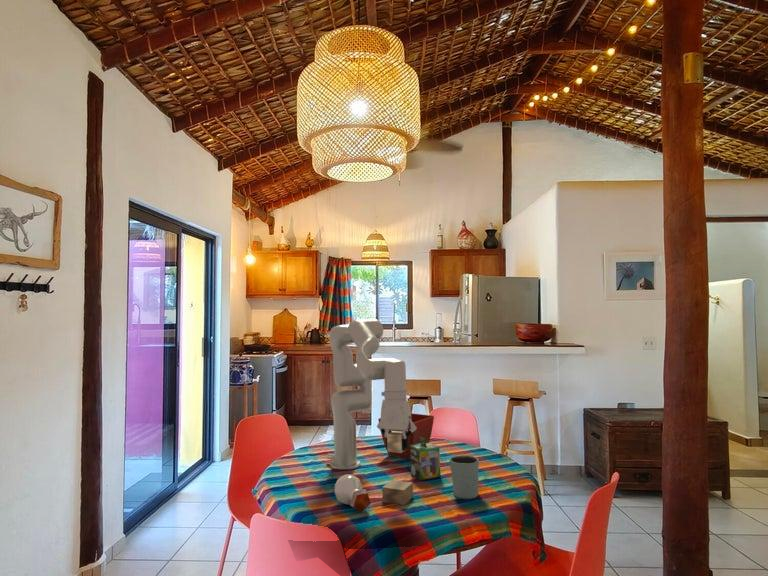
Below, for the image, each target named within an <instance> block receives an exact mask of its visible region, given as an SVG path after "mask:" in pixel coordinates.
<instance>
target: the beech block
mask: <svg viewBox="0 0 768 576" xmlns="http://www.w3.org/2000/svg"><path fill="white" fill-rule="evenodd" d="M402 439H403V435H402V432H401V431H392V432H390V433H388V434H387V450H388V452H396V453H402V452H403V451H402ZM387 450H386V451H387ZM388 452H387V453H388Z"/></svg>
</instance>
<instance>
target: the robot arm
mask: <svg viewBox="0 0 768 576" xmlns="http://www.w3.org/2000/svg"><path fill="white" fill-rule="evenodd" d="M383 335H384V326H383V324H382V322H381V321H380V320H378V319H377V318H376V319H375V318H365V319H364V318H363V319H354V320H352V321H351V322H350V323H349V324H340V325H335V326H333V327H331V330H330V331H329V336H328V337H329V338H328V339H329V345H330V348H331V351H332V357H333V379H334V384H335V386H336V387H339V388H347V387H348V388H349V387H357V388H355V389H343V390H337V391H336V392H334V393H333V394H332V396H331V398H330V403H331V405H330V406H331V409H332V415H333V416H332V417H333V445H334V446H333V451H334V453H327V456H326V459H327V460H331V462H330V467H331V469H334V470H339V471H341V470H342V471H346V470H353V469H357V468H359V467H360V466H361V461H360V460H358V458H357V457H358V455H357V423H356V420H355V418H354V417H353V416H352V415H351V413H357V412H365V411H367V410H369V409H370V408H371V405H372V383H371V382H372V381H380V380H384V390H383V391H382V392H381V393H380V394H381V396H383V397H384V399H382V403H381V408H380V418H381V421H380V422H379V421H378V423H377V425H376V428H378V430H379V431H380V430H381V431H380V433H381V432H382V433H383V434H384V436H385V437H386V446H387V434H388V433H390V432H391V431H392V430H401V432H402V435H403V439H402V451H405V450H406V449H407V448H408V437H409V436H410V435H411V434H412V433H413V432H414V431H415V430H416V429H417V427H416V426H415V425H414V423H413V422H412V421H411V413H412V412H411V407H410V406H411V405H410V402H409V399H407V371H406V369H407V368H406V365H407V364H406V362H405V361H404V360H402V359H397V358H394V357H387V358H386V357H384V358H369V357H371V356H373V355H375V353H377V352H378V350H379V348H380V339H381V338H382V337H383ZM348 345H355V347H356V349H357V350H356V353H355V363H354V353H353V352H352V350H351V348H350V347H349V346H348ZM410 427H411V429H410V430H409V431H408V429H407V428H410Z"/></svg>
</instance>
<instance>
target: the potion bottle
mask: <svg viewBox="0 0 768 576" xmlns="http://www.w3.org/2000/svg"><path fill="white" fill-rule="evenodd" d="M334 495H335V498H336V500H337V501H338V502H340V503H342V504H343V505H349V506H350V507H351V508H353V509H354V510H357V511H358V512H360V513H363V512H364V511H365V510H366V509H367V508H368V507H369V506H370V505H371V499H370V496H369V493H367V490H366V488H364V489H363V485H362V482H361V480H360V478H359V477H357V476H356V475H354V474H348V473H347V474H344V475H342V476H340V477H338V479H337V480H336V483H335V484H334Z"/></svg>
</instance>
